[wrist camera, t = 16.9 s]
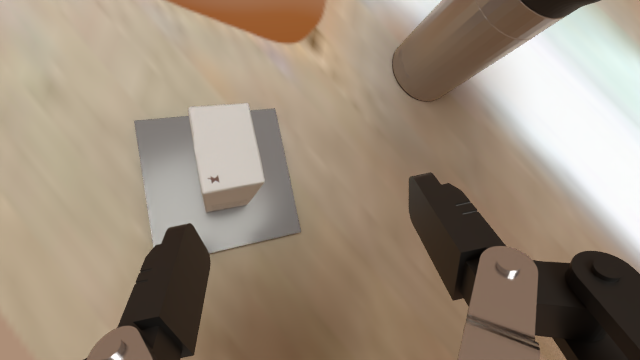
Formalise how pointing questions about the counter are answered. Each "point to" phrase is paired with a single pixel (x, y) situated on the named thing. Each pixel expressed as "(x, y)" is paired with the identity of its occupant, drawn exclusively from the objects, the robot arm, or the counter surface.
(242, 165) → the skincare box
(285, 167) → the slate tile
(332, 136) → the counter surface
